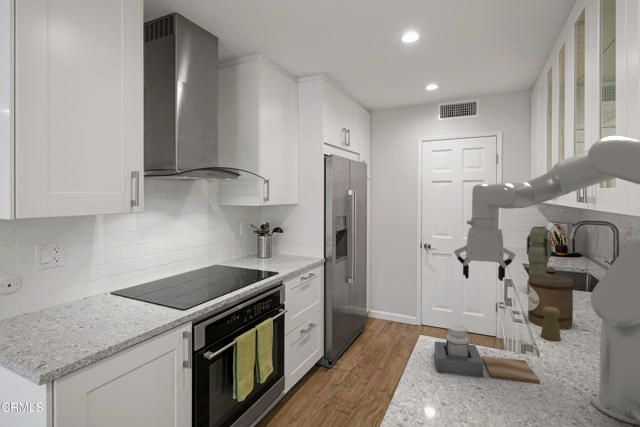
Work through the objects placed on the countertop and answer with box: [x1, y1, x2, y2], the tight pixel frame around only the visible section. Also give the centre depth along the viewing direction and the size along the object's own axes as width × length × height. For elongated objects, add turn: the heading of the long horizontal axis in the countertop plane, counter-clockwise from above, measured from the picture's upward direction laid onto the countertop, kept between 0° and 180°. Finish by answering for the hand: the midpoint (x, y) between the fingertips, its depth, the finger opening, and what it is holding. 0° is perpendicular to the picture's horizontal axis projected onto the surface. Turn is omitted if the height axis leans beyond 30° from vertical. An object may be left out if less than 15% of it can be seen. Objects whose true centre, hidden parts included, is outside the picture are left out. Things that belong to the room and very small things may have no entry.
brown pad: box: [481, 355, 541, 384], centre depth 100 cm, size 12×12×1 cm
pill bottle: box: [446, 324, 470, 358], centre depth 103 cm, size 6×6×11 cm
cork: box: [540, 307, 562, 342], centre depth 122 cm, size 6×6×11 cm
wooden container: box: [527, 267, 574, 330], centre depth 138 cm, size 15×15×22 cm
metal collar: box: [434, 341, 484, 378], centre depth 103 cm, size 12×12×4 cm
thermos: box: [526, 226, 552, 296], centre depth 176 cm, size 9×12×35 cm
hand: (483, 278), depth 108 cm, fingers open, 9 cm apart
